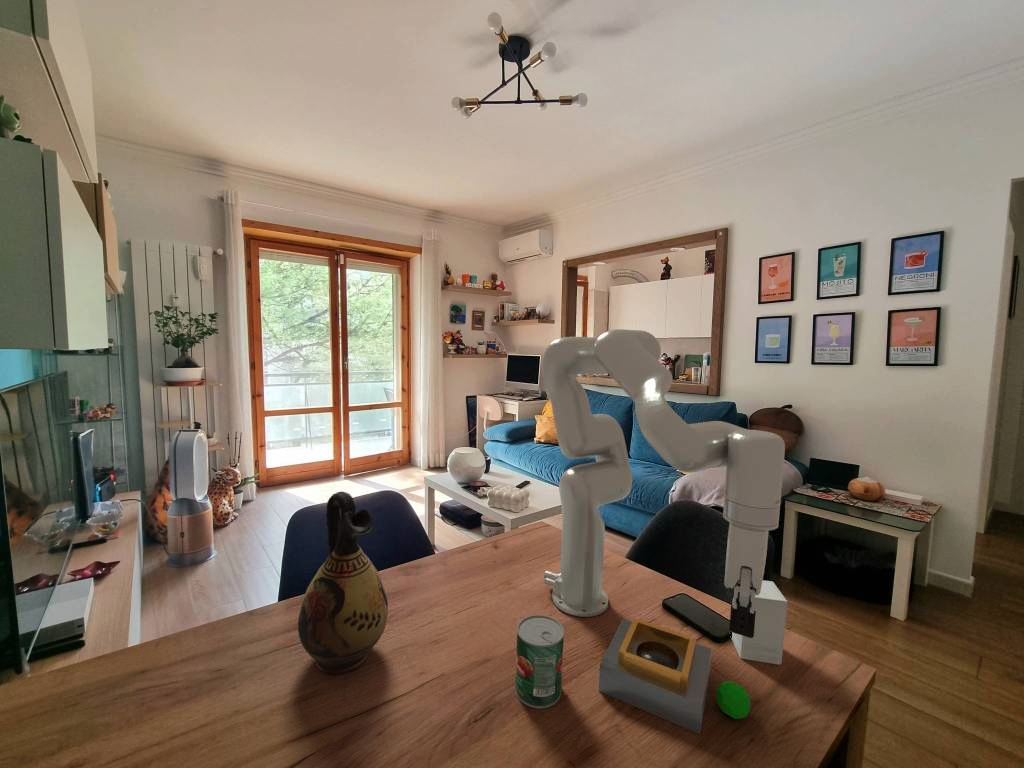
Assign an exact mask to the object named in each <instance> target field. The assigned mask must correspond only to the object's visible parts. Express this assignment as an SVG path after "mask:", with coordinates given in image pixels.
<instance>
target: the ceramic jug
mask: <svg viewBox="0 0 1024 768" xmlns="http://www.w3.org/2000/svg"><path fill="white" fill-rule="evenodd" d="M356 509H357V508H356V504H355V500H354V498H353V496H352V495H351V494H350V493H348V492H346V491H338V492H335V493H333V494H332V495H330V497H329V499H328V500H327V505H326V516H325V517H326V526H327V540H328V541H327V545H328V549H329V550H328V551H329V552H328V555H327V557H326V559H325V561H324V562H323V564H322V565H321V566H320V567H319V568H318V571H317V572H316V574H315V575H314V577H313V578H312V580H311V581H310V583H309V585H308V587H307V589H306V591H305V593H304V596H303V598H302V602H301V605H300V611H299V614H298V621H297V629H298V631H297V632H298V638H299V641H300V642H301V645H302V647H303V648H304V650H305V652H306V653H307V654H308V655H309V657H311V658H312V659H314V660H315V661H314V662H315V665H316V666H317V668H318V671H321V673H322V674H324V675H326V676H328V675H344V674H348V673H351V672H353V671H355V670H357V669H358V668H359V666H360V665H362V664H363V663H364V662H365V661H366V660H367V658H368V656H369V652H370V651H371V650H372V649H373V648H374V646H375V645H376V644H377V643H378V641H380V639H381V637H382V635H383V633H384V631H385V629H386V626H387V621H388V615H389V614H388V613H389V608H388V607H389V600H388V596H387V590H386V588H385V587H386V586H385V585H384V581H383V580H382V577H381V574H380V573H379V571H378V570H377V568H376V567H375V565H374V564H373V562H372V561H371V560H370V558H369V557H368V556H367V554H366V553H364V551H363V550H362V549H363V548H361V546H360V545H359V543H358V536H361V535H366V534H368V533H370V532H371V531H372V529H373V525H374V524H373V517H372V514H371V513H370V511H369V510H368V509H367V508H363V509H361V510H359V511H357V512H356Z"/></svg>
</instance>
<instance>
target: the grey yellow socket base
mask: <svg viewBox="0 0 1024 768" xmlns="http://www.w3.org/2000/svg"><path fill="white" fill-rule="evenodd" d="M711 658H712V648H710V647H707V646H704V645H701V644H698V643H697V640H696V639H694V638H692V637H691V636H690V635H687V634H685V633H684V634H683V633H682V632H678V631H675V630H671V629H669V628H667V627H663V626H661V625H657V624H654V623H651V622H648V621H645V620H641V619H638V620H637V619H633V620H632V621H629V620H627V619H624V618H622V619H621V622H620V623H619V625H618V628H617V630H616V631H615V632H614V635H613V637H612V640H611V641H610V644H609V646H608V647H607V649H606V651H605V653H604V656H603V657H602V659H601V661H600V663H599V677H598V692H599V693H602V694H604V695H606V696H609V697H612V698H614V699H616V700H618V701H620V702H623V703H625V704H628V705H629V706H633V707H634V708H637V709H640V710H642V711H643V712H646V713H649V714H651V715H654V716H655V717H659V718H661V719H663V720H665V721H668V722H670V723H672V724H674V725H677V726H680V727H682V728H683V729H687V730H689V731H691V732H693V733H696V734H698V735H701V731H702V724H703V718H704V711H705V704H706V698H707V692H708V686H709V679H710V671H711Z"/></svg>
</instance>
